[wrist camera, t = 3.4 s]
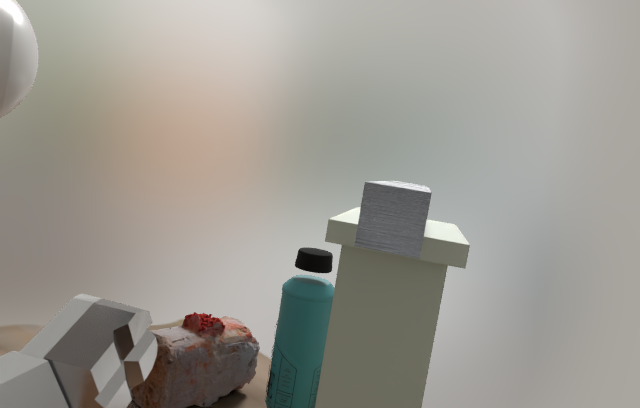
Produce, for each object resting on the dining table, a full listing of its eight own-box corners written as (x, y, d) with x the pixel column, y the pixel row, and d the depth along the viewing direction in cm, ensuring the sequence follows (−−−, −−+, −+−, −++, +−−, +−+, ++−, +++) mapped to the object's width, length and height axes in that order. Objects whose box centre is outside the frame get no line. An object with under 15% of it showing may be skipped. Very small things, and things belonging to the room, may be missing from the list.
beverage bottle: (328, 431, 55) (357, 258, 53) (275, 440, 51) (305, 255, 49) (301, 402, 60) (327, 244, 58) (251, 409, 57) (277, 241, 55)
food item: (216, 368, 66) (226, 298, 65) (258, 392, 61) (269, 316, 60) (123, 397, 55) (134, 313, 54) (165, 429, 50) (178, 338, 49)
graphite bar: (419, 258, 22) (431, 192, 22) (354, 246, 22) (365, 181, 22) (421, 219, 43) (427, 186, 43) (388, 213, 44) (394, 180, 44)
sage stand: (397, 628, 32) (469, 244, 30) (269, 584, 34) (328, 218, 32) (405, 494, 46) (455, 224, 44) (313, 467, 48) (357, 207, 45)
